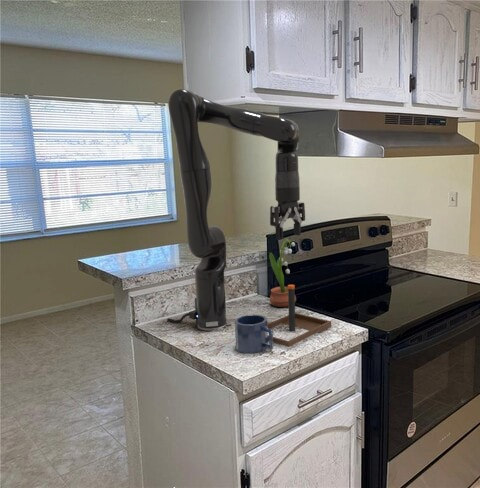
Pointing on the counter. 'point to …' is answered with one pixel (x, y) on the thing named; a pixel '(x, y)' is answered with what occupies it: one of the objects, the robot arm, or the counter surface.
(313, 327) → the tray
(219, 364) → the counter surface
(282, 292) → the potted flower
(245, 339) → the mug
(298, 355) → the counter surface
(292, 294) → the marker
